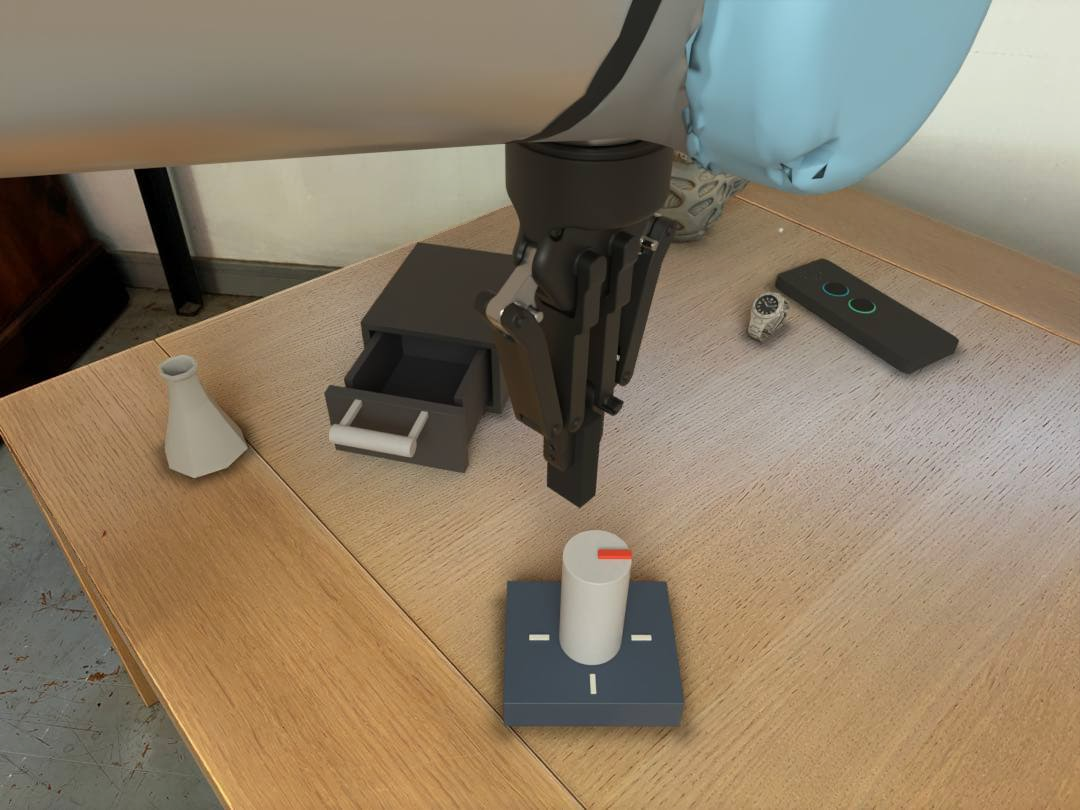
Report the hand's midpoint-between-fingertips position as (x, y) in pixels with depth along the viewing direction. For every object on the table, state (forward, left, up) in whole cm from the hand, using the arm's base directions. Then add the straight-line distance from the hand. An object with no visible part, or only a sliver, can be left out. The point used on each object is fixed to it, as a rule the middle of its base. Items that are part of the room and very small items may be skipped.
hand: (570, 490), depth 51 cm
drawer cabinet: (+18, +31, -16) cm, 40 cm away
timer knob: (0, -2, -13) cm, 13 cm away
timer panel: (0, -3, -16) cm, 16 cm away
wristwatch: (+45, +10, -16) cm, 49 cm away
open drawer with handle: (+7, +25, -15) cm, 30 cm away
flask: (-8, +37, -16) cm, 42 cm away
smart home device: (+55, +4, -16) cm, 58 cm away
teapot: (+55, +31, -16) cm, 65 cm away
